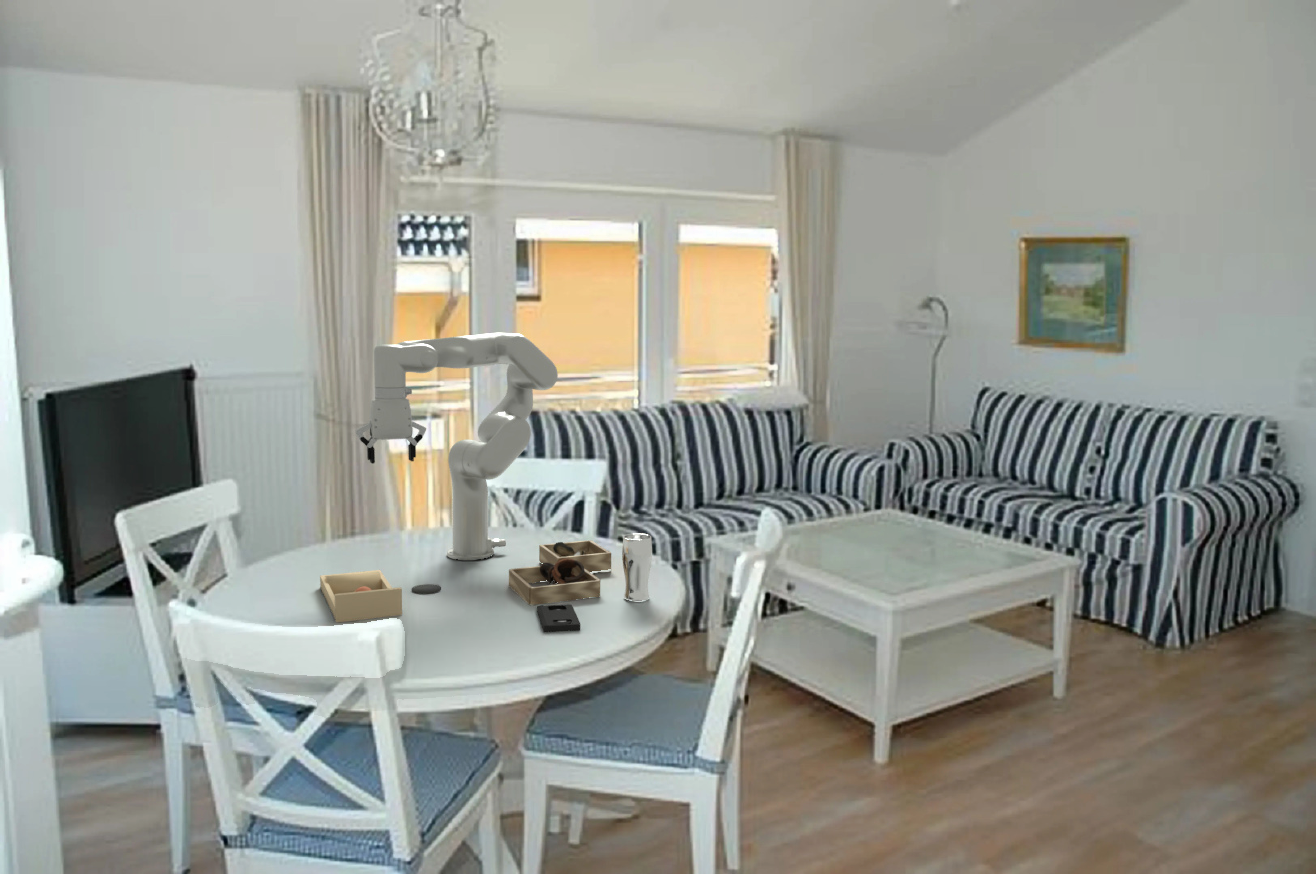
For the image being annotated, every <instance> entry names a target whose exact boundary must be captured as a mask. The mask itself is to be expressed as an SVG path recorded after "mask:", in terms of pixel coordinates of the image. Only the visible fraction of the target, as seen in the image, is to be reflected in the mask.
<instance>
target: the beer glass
mask: <svg viewBox="0 0 1316 874" xmlns="http://www.w3.org/2000/svg"><path fill="white" fill-rule="evenodd" d="M622 539H623V541H622V551H621V552H622V554H621V555H622V556H621V557H622V558H621V559H622V567H623V574H624V580H625V588H624V593H623V599H624V598H626V599H628V600H632V601H642V600H647V599H648V598H649V599H650V594H649V586H648V585H649V578H650V577H649V576H650V571H651V567H652V562H653V560H652V559H653V544H652V543H653V541H652V535H650V534H648V533H647V534H646V533H638V532H637V533H628V534H625V535H623V537H622Z"/></svg>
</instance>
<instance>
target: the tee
mask: <svg viewBox="0 0 1316 874" xmlns="http://www.w3.org/2000/svg"><path fill="white" fill-rule="evenodd" d="M441 591H442V586H441V585H438V584H434V583H433V584H432V583H431V584H430V583H425V584H418V585H415V586H413V587H412V586H411V593H412V594H413V593H414V594H418V595H433V594H436V593H439V592H441Z"/></svg>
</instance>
